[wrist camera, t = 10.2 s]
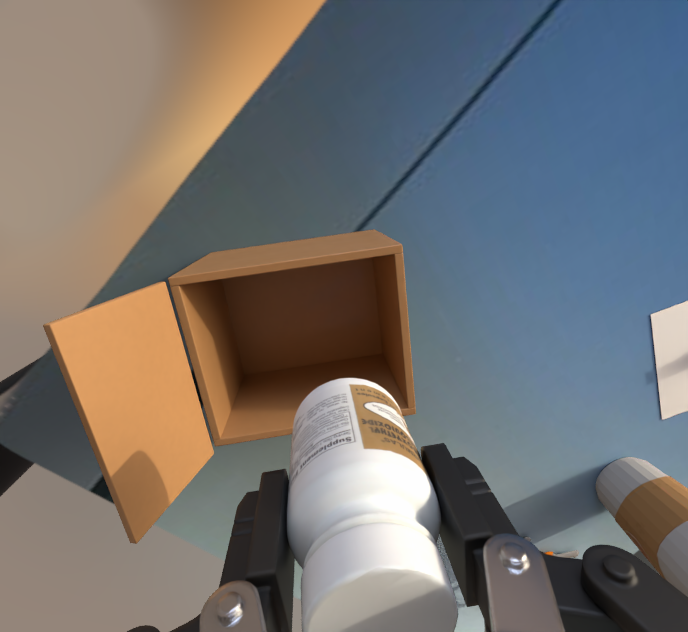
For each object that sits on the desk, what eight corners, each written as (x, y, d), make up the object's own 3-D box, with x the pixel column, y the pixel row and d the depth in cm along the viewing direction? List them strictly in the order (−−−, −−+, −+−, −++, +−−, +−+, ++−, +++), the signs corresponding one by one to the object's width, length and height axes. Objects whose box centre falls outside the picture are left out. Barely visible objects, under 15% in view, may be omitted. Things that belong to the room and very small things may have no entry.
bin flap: (214, 453, 23) (208, 453, 24) (165, 281, 20) (159, 282, 20) (136, 544, 18) (129, 543, 18) (49, 324, 14) (41, 324, 14)
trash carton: (240, 378, 33) (214, 447, 24) (210, 252, 30) (167, 278, 21) (387, 355, 34) (416, 414, 25) (374, 229, 30) (402, 244, 21)
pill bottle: (419, 431, 16) (514, 634, 9) (332, 484, 16) (352, 721, 9) (364, 353, 15) (419, 512, 7) (270, 413, 15) (234, 620, 8)
